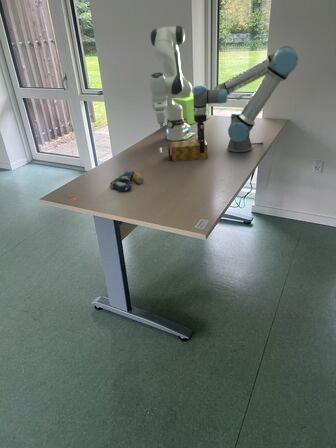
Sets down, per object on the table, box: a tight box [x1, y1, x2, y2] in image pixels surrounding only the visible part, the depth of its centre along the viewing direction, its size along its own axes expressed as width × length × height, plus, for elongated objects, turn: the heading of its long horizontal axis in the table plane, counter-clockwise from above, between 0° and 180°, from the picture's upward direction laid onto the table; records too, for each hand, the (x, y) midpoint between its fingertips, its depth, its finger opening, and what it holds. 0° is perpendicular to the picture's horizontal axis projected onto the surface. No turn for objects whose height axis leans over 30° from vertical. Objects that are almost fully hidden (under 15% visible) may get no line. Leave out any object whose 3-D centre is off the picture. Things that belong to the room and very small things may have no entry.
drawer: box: [159, 143, 172, 160], centre depth 210 cm, size 26×10×7 cm, turn 91°
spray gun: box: [109, 170, 144, 192], centre depth 182 cm, size 21×4×15 cm
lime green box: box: [173, 92, 209, 126], centre depth 283 cm, size 25×21×23 cm
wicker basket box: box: [170, 139, 208, 162], centre depth 210 cm, size 22×11×9 cm, turn 91°
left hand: (161, 127), depth 202 cm, fingers closed
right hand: (201, 149), depth 210 cm, fingers closed on wicker basket box, 11 cm apart
